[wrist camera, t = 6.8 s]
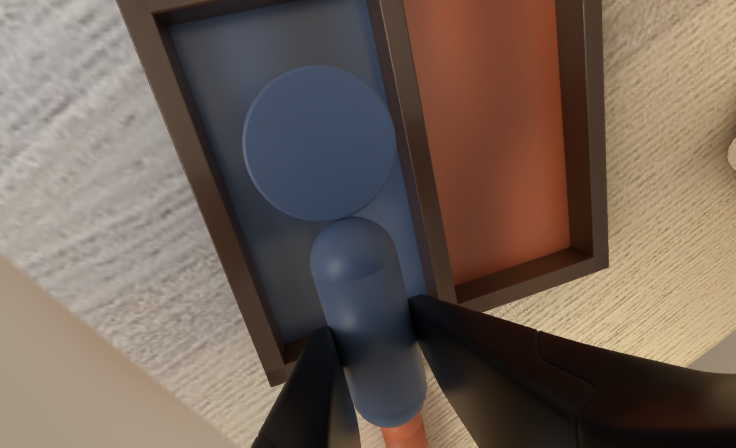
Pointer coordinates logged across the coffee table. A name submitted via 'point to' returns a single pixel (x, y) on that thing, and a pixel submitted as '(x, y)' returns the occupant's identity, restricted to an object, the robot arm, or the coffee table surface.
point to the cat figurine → (732, 154)
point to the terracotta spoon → (406, 435)
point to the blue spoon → (342, 224)
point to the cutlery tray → (413, 142)
